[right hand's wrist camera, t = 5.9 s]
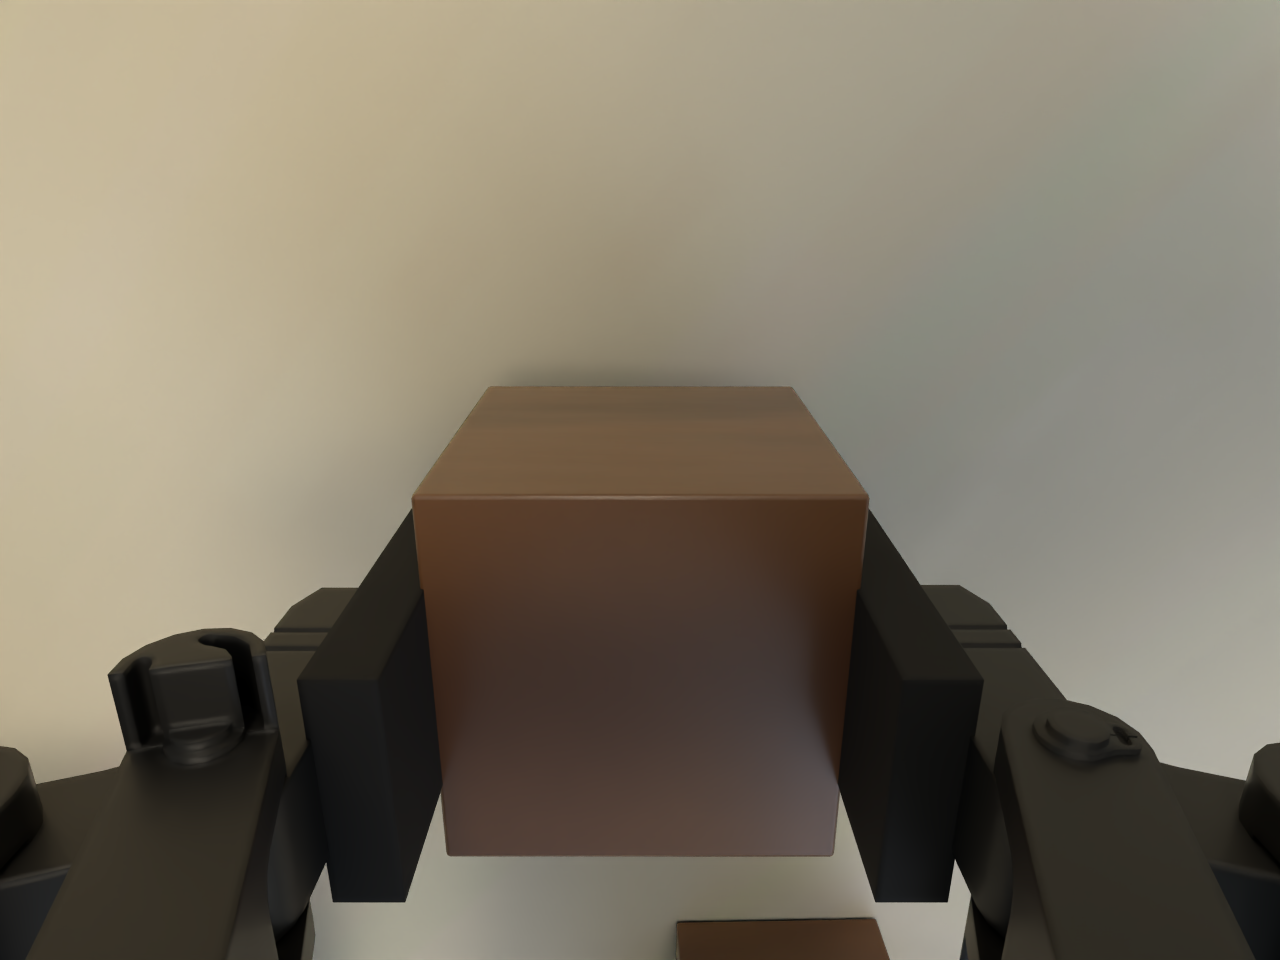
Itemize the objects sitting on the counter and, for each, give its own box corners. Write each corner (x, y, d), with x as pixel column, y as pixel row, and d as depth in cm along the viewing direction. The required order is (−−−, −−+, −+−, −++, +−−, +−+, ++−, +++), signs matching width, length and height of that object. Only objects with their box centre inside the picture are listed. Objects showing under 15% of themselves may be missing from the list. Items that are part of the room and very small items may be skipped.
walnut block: (487, 385, 14) (409, 495, 9) (793, 385, 14) (871, 494, 9) (504, 651, 16) (446, 858, 11) (776, 651, 16) (834, 858, 11)
